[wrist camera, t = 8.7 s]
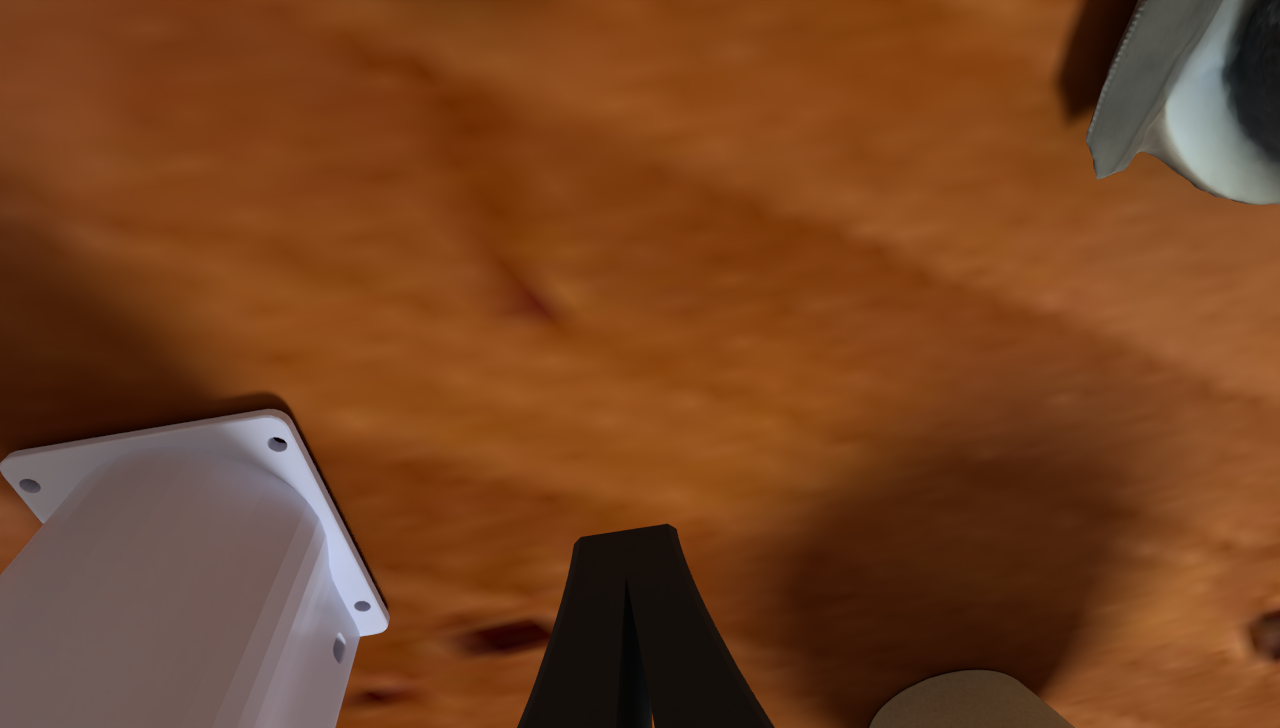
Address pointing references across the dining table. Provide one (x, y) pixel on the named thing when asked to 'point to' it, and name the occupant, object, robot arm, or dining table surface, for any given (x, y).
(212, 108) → the dining table surface
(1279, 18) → the salad plate
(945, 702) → the plant pot
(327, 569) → the robot arm
